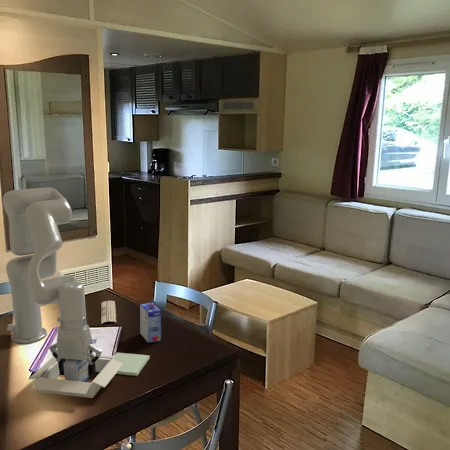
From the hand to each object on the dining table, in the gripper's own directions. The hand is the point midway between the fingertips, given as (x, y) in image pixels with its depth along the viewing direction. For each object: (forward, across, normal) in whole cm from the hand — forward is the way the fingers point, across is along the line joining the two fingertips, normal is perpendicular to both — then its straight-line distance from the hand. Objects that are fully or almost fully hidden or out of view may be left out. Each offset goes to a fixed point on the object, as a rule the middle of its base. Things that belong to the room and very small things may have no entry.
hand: (77, 373), depth 149 cm
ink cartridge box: (+3, +12, +35) cm, 37 cm away
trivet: (+3, +11, +13) cm, 17 cm away
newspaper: (+4, -14, +54) cm, 56 cm away
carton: (+3, 0, 0) cm, 3 cm away
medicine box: (+3, 0, 0) cm, 3 cm away
